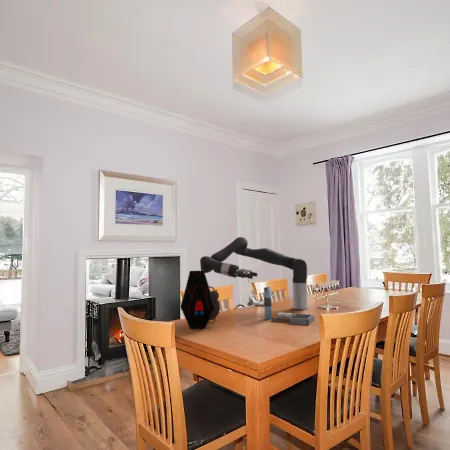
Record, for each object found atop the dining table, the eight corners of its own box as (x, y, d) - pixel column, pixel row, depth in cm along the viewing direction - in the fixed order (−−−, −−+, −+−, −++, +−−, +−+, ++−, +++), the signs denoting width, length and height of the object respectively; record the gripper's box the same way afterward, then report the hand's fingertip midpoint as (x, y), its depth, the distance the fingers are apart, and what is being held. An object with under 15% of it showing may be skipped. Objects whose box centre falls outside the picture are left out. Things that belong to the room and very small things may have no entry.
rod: (266, 317, 200) (265, 286, 202) (273, 318, 198) (272, 286, 200) (262, 319, 195) (262, 287, 196) (269, 320, 193) (268, 288, 194)
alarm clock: (221, 320, 195) (220, 285, 196) (219, 323, 188) (218, 286, 189) (196, 320, 197) (196, 285, 199) (193, 323, 190) (193, 287, 191)
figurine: (217, 326, 182) (216, 269, 184) (215, 329, 174) (214, 270, 176) (183, 326, 183) (182, 270, 186) (180, 329, 176) (179, 271, 178)
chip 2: (286, 320, 194) (286, 312, 194) (293, 320, 192) (293, 313, 192) (284, 321, 190) (284, 314, 190) (291, 321, 188) (291, 314, 189)
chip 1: (279, 319, 196) (279, 312, 196) (285, 319, 194) (285, 312, 194) (276, 320, 192) (276, 313, 192) (283, 321, 190) (283, 314, 191)
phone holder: (274, 291, 249) (271, 293, 238) (275, 304, 248) (272, 307, 237) (250, 290, 255) (247, 292, 244) (251, 303, 254) (247, 306, 243)
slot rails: (277, 317, 199) (277, 314, 200) (296, 319, 194) (296, 315, 195) (271, 321, 190) (271, 317, 190) (290, 322, 185) (290, 319, 185)
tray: (296, 318, 196) (296, 313, 196) (314, 320, 191) (314, 314, 191) (290, 323, 184) (289, 317, 184) (308, 325, 179) (308, 319, 180)
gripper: (233, 274, 213) (257, 280, 207) (224, 277, 200) (250, 284, 194) (235, 262, 213) (259, 268, 207) (226, 265, 200) (252, 271, 193)
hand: (254, 276), depth 200 cm, fingers open, 8 cm apart
